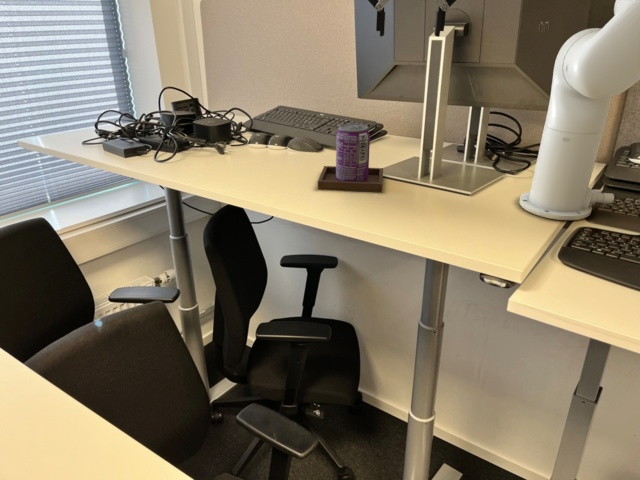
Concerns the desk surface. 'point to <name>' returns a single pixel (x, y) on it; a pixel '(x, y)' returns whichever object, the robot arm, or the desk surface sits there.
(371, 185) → the tray
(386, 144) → the desk surface
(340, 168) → the beverage can
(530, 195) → the robot arm
